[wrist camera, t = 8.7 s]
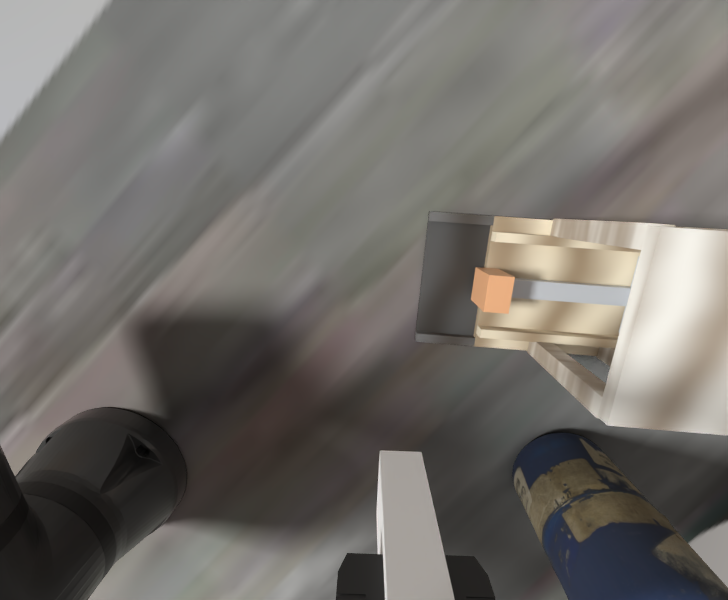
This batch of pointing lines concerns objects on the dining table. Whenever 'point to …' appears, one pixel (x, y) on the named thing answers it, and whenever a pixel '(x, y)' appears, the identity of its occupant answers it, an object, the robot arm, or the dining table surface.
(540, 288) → the orange and grey bar
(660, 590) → the canister
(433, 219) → the cream wooden rail frame
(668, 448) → the dining table surface
